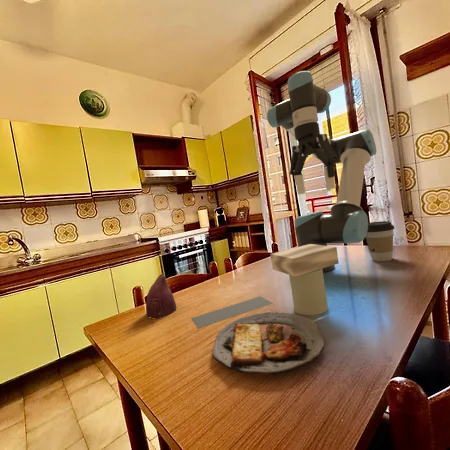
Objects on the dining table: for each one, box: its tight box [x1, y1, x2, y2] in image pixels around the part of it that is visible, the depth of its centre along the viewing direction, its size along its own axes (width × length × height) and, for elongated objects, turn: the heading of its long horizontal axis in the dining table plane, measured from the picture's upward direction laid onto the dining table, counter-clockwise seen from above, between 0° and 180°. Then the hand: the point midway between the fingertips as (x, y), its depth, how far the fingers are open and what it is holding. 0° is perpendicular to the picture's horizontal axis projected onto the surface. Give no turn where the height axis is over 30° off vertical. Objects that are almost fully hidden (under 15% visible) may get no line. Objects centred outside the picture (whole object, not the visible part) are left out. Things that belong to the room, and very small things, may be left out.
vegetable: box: [145, 272, 178, 319], centre depth 87 cm, size 10×10×15 cm
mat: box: [190, 295, 273, 329], centre depth 78 cm, size 8×24×1 cm, turn 111°
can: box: [288, 269, 329, 316], centre depth 71 cm, size 9×9×12 cm
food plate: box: [212, 311, 325, 375], centre depth 58 cm, size 25×23×4 cm
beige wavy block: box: [269, 244, 340, 276], centre depth 71 cm, size 10×14×4 cm
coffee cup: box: [365, 220, 395, 262], centre depth 105 cm, size 11×11×15 cm
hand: (315, 191), depth 83 cm, fingers open, 13 cm apart
